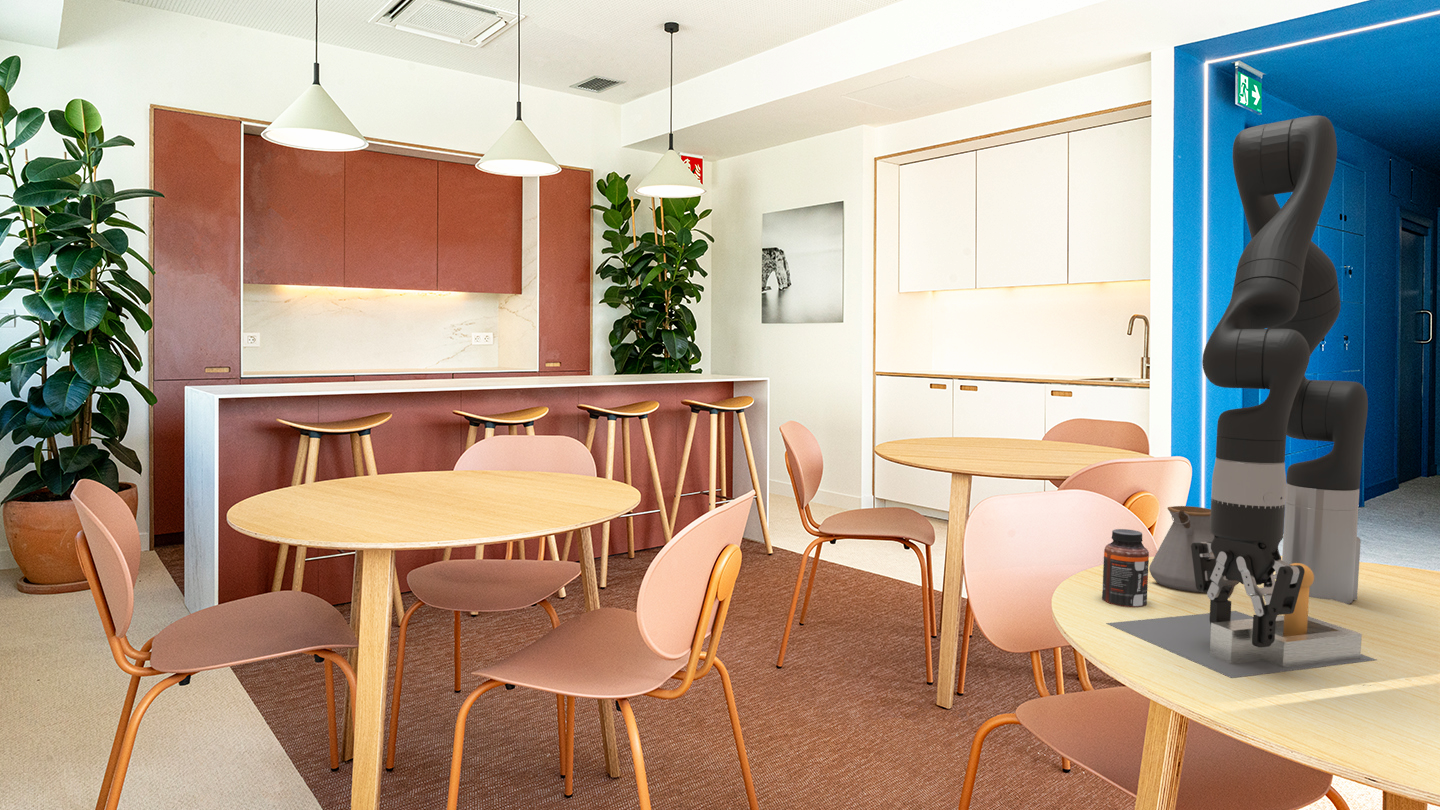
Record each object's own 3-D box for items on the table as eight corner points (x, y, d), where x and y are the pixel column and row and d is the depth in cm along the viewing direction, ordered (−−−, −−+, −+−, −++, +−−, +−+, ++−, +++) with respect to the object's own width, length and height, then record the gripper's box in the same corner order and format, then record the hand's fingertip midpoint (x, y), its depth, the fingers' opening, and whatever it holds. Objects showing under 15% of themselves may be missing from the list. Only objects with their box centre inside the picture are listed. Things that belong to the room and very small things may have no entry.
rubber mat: (1235, 617, 124) (1235, 610, 124) (1376, 667, 105) (1377, 659, 105) (1105, 630, 118) (1105, 623, 118) (1231, 686, 99) (1231, 677, 99)
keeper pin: (1292, 645, 110) (1297, 559, 109) (1316, 654, 107) (1321, 565, 106) (1272, 647, 109) (1277, 561, 108) (1295, 656, 106) (1300, 567, 105)
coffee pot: (1154, 576, 146) (1158, 487, 145) (1233, 588, 140) (1238, 494, 139) (1131, 607, 128) (1136, 506, 127) (1221, 622, 122) (1227, 515, 121)
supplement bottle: (1151, 615, 125) (1155, 536, 124) (1106, 612, 126) (1110, 534, 125) (1140, 603, 131) (1143, 528, 130) (1097, 600, 132) (1100, 526, 131)
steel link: (1299, 636, 113) (1300, 606, 113) (1360, 658, 105) (1362, 625, 105) (1193, 648, 108) (1194, 616, 108) (1248, 671, 101) (1250, 637, 100)
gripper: (1329, 507, 98) (1320, 655, 99) (1222, 487, 112) (1215, 617, 113) (1277, 510, 96) (1268, 662, 97) (1174, 489, 110) (1168, 622, 111)
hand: (1240, 637), depth 105 cm, fingers open, 5 cm apart
